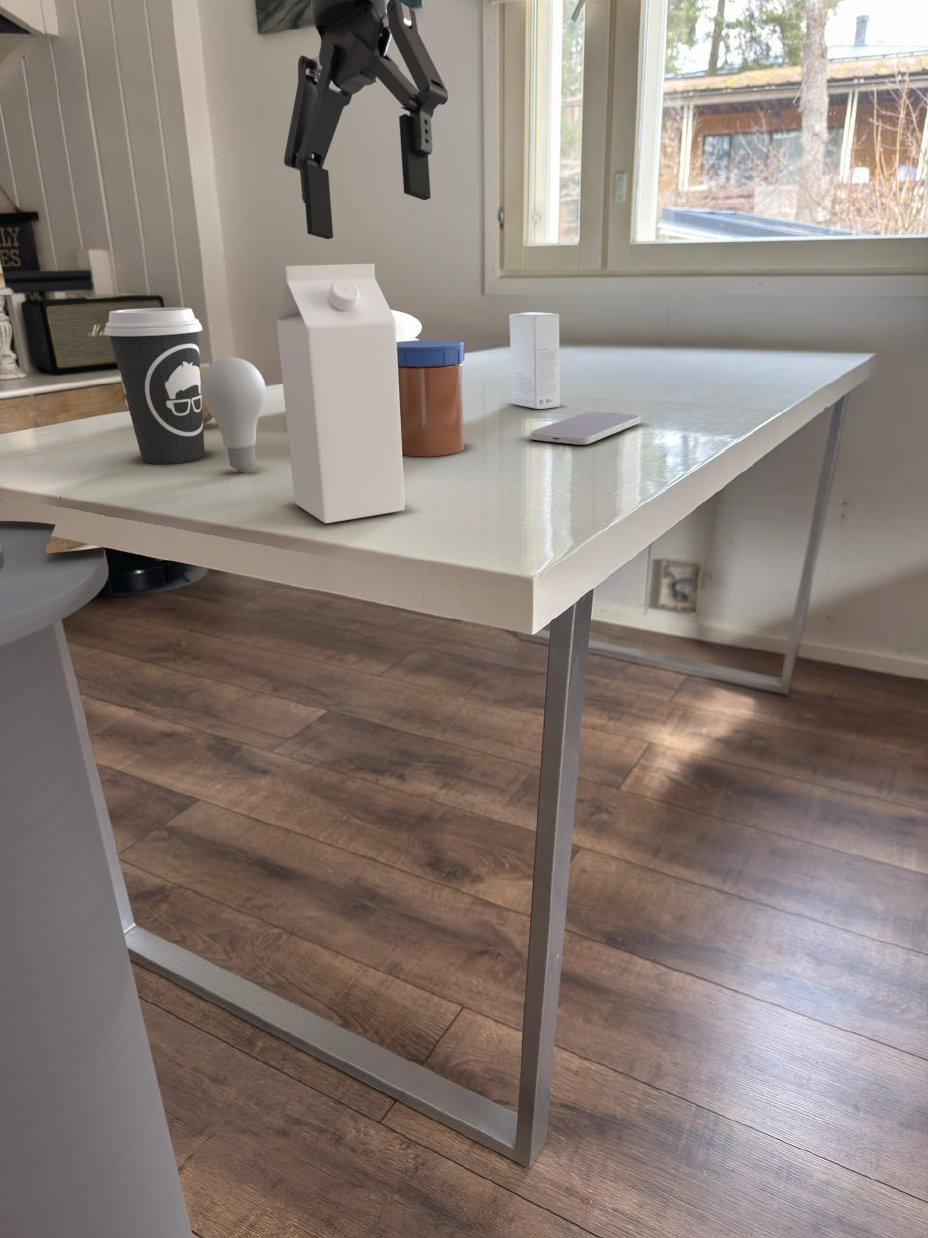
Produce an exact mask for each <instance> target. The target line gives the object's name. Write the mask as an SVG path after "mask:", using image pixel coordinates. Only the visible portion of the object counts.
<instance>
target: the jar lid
mask: <svg viewBox="0 0 928 1238" xmlns="http://www.w3.org/2000/svg"><path fill="white" fill-rule="evenodd" d="M396 343H397V363H398V366H441V365H451V364H457V363H463V362H464V361H465V347H464V341H462V340H461V341H460V340H452V339H418V340H413V341H401V342H396Z"/></svg>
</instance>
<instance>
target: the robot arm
mask: <svg viewBox="0 0 928 1238" xmlns="http://www.w3.org/2000/svg"><path fill="white" fill-rule="evenodd" d="M310 10H311V11H310V12H311V20H312V23H313V24H314V28H315V29H316V30H317V33H318V35H319V37H320V47H319V53H318V55H316V56H313V57H312V58H310V57H308V56H305V55H300V57H299V58H298V61H297V87H296V92H295V97H294V103H293V109H292V112H291V113H292V114H291V119H290V125H289V129H288V130H289V131H288V135H287V141H286V146H285V152H284V158H283V163H284V165H285V166H286V167H288V168H291V169H294V170H297V171H299V175H300V176H299V177H300V187H301V188H300V189H301V199H302V202H303V204H304V205H305V218H306V219H305V220H306V231H307V235H310V236H314V237H318V238H322V239H326V240H331V239H333V238H334V231H333V230H334V229H333V215H332V204H331V190H330V189H331V187H330V176H329V170H328V169H325V168H323V167H324V165H325V162H326V158H327V155H328V153H329V150H330V147H331V144H332V142H333V139H334V136H335V133H336V130H337V127H338V124H339V122H340V119H341V116H342V113H343V110H344V108H345V107H347V106H348V105H349V104H351V100H352V98H353V95H355V94H357V93H359V92H360V91H361V90H362V89H363V88H364V87H365V86H371V85H374V84H375V83H377V80H379V81H380V82H381V83H382V85H383V86H384V87H385V88H386V89H387V90H388V91H389V92H390V93H391V95H392V96H393V97H394V98H395V99H396V100H397V101H398V102H399V103H400V104H401V107H400V108H401V109H403V110H404V111H407V112H409V114H407V113H404V114H402V115H400V116H398V121H399V122H398V123H399V137H400V138H399V139H400V153H401V168H402V169H401V171H402V184H403V185H402V187H403V194H405V195H408V196H411V197H414V198H415V199H419V200H422V201H426V200H427V201H428V200H429V199H431V197H432V195H431V182H430V179H431V178H430V166H429V165H430V164H429V156H430V155H432V151H433V136H432V135H433V134H432V118H433V116H434V112H435V110H436V108H437V107H438V106H440V105H441V106H444V105H446V103H447V102H448V99H449V92H448V89H447V88H446V86H445V84H444V81H443V80H442V77H441V75H440V74H439V72H438V69H437V67H436V65H435V64H434V61H433V59H432V58H431V55H430V53H429V52H428V49H427V47H426V46H425V44H424V41H423V40H422V38H421V35H420V34H419V30H418V23H417V16H416V15H417V14H416V12H415V10H414V9H413V8H411V7H409V6H407V5H406V4H404V3H402V2H401V1H399V0H310ZM391 38H392V39H393V41H394V43H395V45H396V48H397V49H398V52H399V53H400V55H401V57H402V59H403V61H404V63H405V66H406V68H407V70H408V72H409V73H410V75H411V78H412V80H413V82H414V84H415V85H414V84H413V83H412V81H410V79H409V78H408V77H406V75H404V73H403V72H402V71H401V70H400V67H399V65H397V63H396V62H395V61H394V60H393V59H392V58H391V57H390V55H388V53H387V51H388V48H389V45H390V42H391ZM331 83H333V85H334V87H336V88H337V89H338V90H335V89H334V88H331V87H330V84H331ZM415 86H416V87H415ZM339 89H340V90H339ZM3 565H4V556H3V551H2V547H1V543H0V569H1V568H2V567H3Z"/></svg>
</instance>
